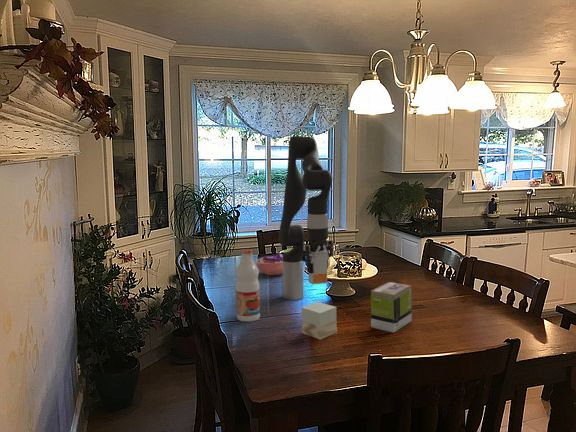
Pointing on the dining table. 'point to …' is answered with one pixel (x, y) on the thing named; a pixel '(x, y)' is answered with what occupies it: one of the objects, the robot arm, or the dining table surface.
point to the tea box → (391, 306)
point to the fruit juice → (247, 288)
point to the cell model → (271, 264)
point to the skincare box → (319, 268)
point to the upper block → (318, 314)
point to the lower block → (319, 329)
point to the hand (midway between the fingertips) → (317, 271)
